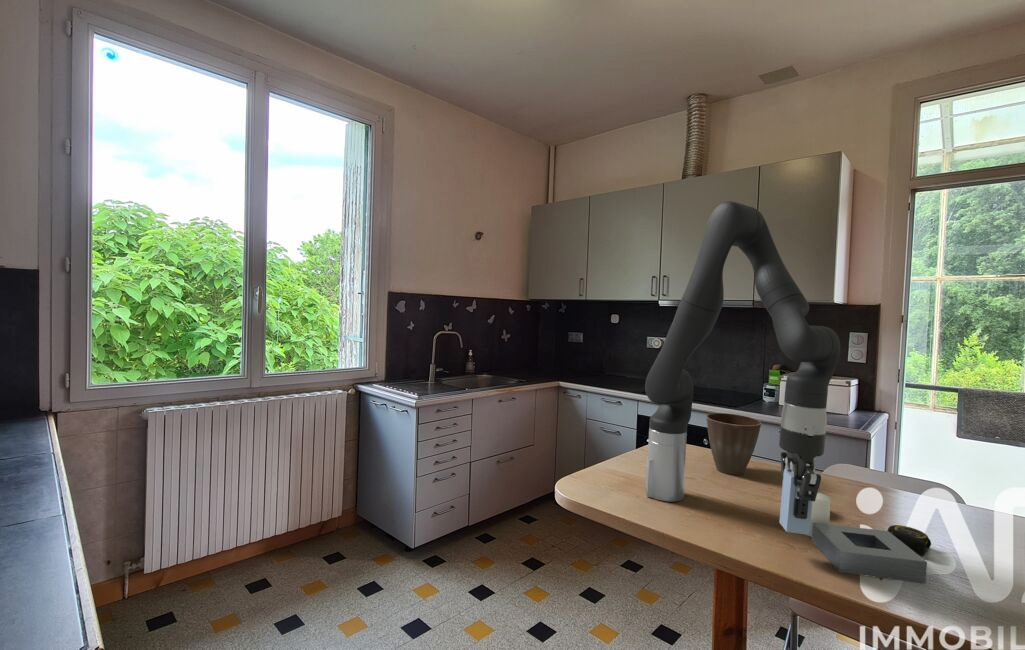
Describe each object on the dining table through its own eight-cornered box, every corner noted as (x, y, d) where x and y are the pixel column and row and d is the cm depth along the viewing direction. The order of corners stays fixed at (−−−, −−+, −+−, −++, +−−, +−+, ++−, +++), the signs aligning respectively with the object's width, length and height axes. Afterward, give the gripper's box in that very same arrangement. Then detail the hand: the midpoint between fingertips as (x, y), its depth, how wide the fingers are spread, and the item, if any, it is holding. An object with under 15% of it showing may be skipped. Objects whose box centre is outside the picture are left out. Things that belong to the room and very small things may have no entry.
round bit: (802, 536, 101) (804, 499, 101) (792, 523, 107) (794, 489, 107) (833, 539, 100) (835, 503, 100) (821, 527, 106) (823, 492, 106)
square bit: (786, 531, 91) (791, 476, 90) (779, 522, 95) (783, 469, 94) (809, 534, 90) (814, 479, 90) (801, 525, 94) (805, 471, 94)
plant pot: (764, 471, 142) (766, 419, 142) (750, 484, 131) (753, 428, 130) (713, 459, 152) (715, 410, 151) (696, 470, 141) (699, 418, 140)
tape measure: (881, 546, 98) (882, 528, 98) (893, 537, 102) (894, 521, 102) (923, 561, 93) (924, 542, 93) (934, 552, 97) (935, 534, 97)
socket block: (839, 572, 87) (840, 551, 87) (811, 541, 99) (812, 522, 99) (925, 583, 85) (927, 561, 85) (886, 550, 96) (888, 531, 96)
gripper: (769, 416, 99) (763, 495, 100) (795, 435, 85) (787, 526, 86) (809, 420, 98) (801, 500, 99) (841, 440, 84) (833, 532, 85)
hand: (795, 512), depth 92 cm, fingers closed on square bit, 4 cm apart
